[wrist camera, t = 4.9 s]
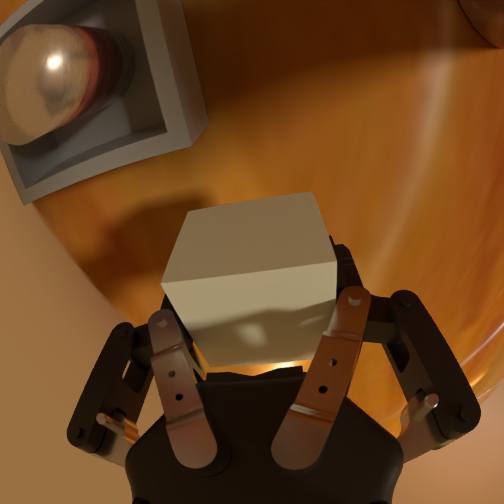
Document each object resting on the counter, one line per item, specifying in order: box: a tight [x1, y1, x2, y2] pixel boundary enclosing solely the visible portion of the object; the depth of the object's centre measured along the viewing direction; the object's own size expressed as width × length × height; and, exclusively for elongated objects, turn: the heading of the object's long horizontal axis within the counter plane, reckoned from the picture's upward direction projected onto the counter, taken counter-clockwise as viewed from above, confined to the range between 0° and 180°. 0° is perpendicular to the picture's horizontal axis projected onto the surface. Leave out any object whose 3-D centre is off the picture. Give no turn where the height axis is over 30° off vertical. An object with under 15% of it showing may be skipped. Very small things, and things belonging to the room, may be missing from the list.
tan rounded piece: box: [0, 24, 136, 145], centre depth 10 cm, size 6×6×8 cm
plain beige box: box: [160, 192, 337, 367], centre depth 13 cm, size 6×6×5 cm
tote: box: [0, 0, 209, 205], centre depth 12 cm, size 13×13×6 cm
